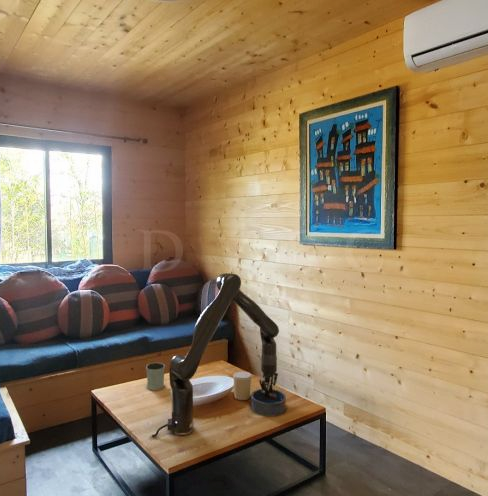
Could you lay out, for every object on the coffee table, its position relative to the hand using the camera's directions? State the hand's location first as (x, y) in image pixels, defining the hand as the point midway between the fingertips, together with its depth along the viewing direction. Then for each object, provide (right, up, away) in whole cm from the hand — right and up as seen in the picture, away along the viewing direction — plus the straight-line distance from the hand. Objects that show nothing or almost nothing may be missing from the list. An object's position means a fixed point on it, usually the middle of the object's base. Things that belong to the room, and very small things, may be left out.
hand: (268, 395), depth 208 cm
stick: (0, -1, 0) cm, 1 cm away
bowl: (0, -6, 0) cm, 6 cm away
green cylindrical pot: (-59, -3, +23) cm, 63 cm away
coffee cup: (-12, -5, +12) cm, 18 cm away
